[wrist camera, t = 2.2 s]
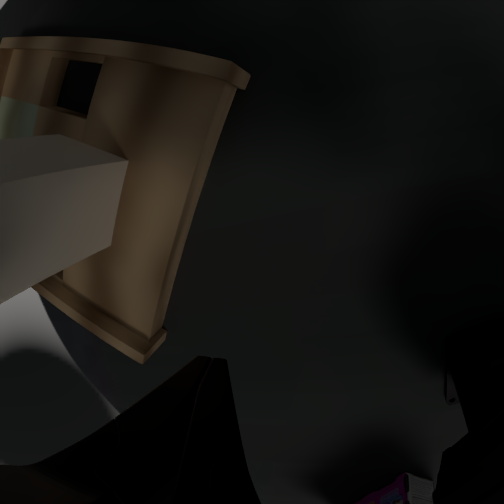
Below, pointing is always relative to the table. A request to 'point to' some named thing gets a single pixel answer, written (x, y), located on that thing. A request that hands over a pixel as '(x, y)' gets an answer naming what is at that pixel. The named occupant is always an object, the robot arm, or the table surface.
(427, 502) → the candy bar box
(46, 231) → the cream block
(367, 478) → the table surface
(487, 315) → the table surface
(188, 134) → the wooden tray
